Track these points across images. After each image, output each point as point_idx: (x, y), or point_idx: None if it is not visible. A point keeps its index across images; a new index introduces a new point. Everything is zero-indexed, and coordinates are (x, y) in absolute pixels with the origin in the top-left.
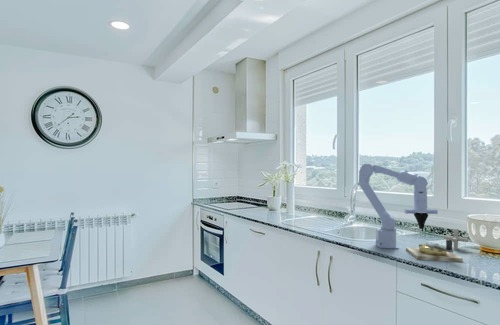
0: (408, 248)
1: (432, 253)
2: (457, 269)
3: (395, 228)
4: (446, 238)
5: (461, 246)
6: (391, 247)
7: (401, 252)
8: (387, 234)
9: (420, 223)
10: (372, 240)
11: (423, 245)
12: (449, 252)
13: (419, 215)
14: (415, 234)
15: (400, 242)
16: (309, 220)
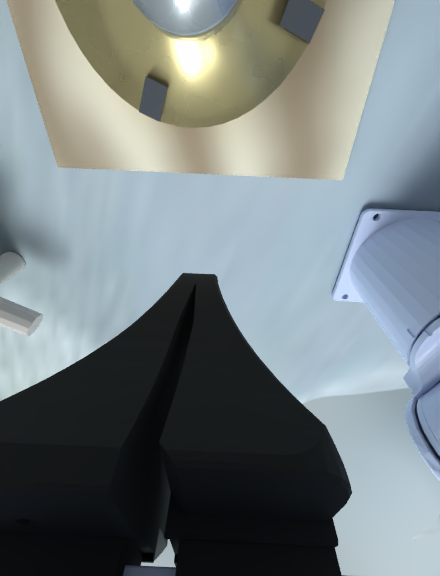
0: (346, 135)
1: None
2: None
3: (432, 341)
4: (23, 308)
5: None
6: (415, 213)
7: (415, 91)
8: None
9: (217, 309)
10: (386, 370)
11: (267, 19)
12: (38, 26)
13: (276, 454)
14: None
15: (263, 351)
16: (418, 535)
